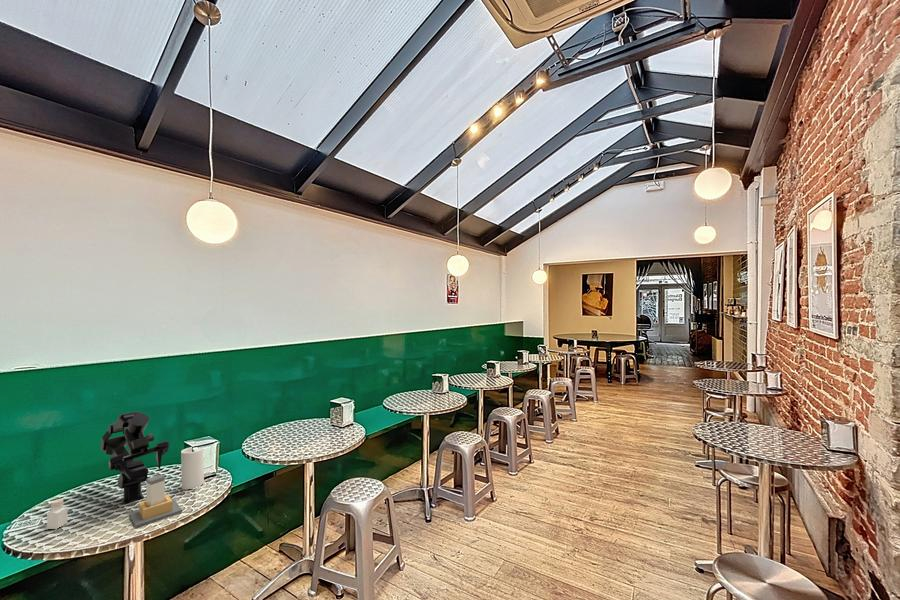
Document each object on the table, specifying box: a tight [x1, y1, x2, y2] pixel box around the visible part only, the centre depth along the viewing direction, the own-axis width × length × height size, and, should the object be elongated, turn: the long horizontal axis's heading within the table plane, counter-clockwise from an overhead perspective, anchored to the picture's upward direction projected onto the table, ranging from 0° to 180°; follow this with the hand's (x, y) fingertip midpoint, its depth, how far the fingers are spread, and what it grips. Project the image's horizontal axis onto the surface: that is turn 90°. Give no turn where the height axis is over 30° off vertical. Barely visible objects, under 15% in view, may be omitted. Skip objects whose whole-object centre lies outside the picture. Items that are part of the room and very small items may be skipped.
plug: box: [145, 474, 166, 508], centre depth 147 cm, size 4×4×12 cm
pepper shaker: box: [46, 498, 68, 530], centre depth 140 cm, size 4×4×10 cm
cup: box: [180, 446, 205, 491], centre depth 170 cm, size 8×8×16 cm
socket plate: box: [128, 493, 183, 529], centre depth 147 cm, size 14×14×4 cm
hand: (145, 473), depth 152 cm, fingers open, 9 cm apart
